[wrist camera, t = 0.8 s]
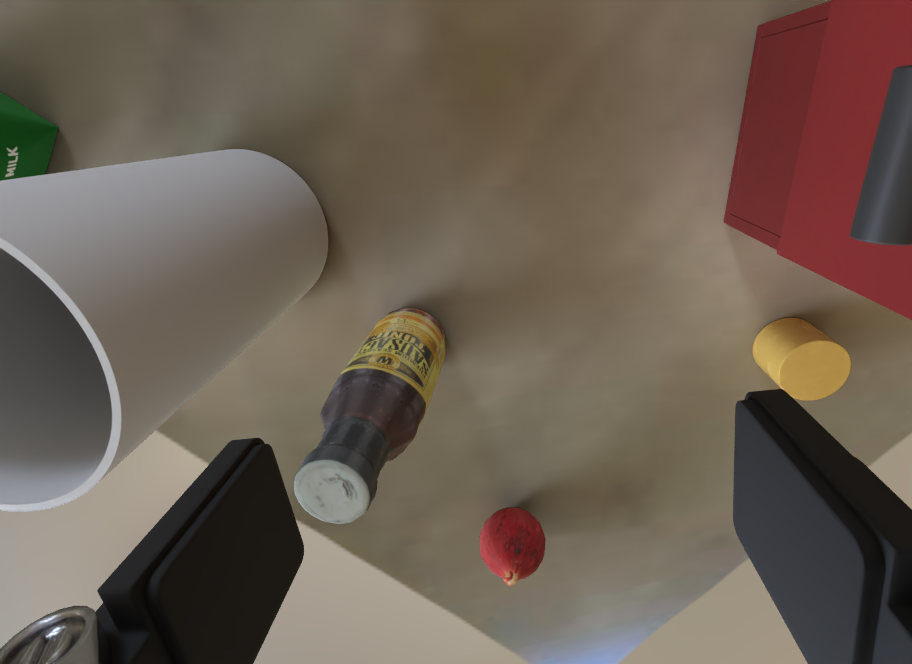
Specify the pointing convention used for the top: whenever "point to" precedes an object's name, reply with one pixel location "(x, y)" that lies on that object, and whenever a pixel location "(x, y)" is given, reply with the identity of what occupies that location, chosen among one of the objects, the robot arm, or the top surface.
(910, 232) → the lid
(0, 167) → the milk carton
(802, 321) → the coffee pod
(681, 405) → the top surface
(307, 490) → the sauce bottle
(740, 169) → the red bin
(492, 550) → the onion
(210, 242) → the cylinder vase
